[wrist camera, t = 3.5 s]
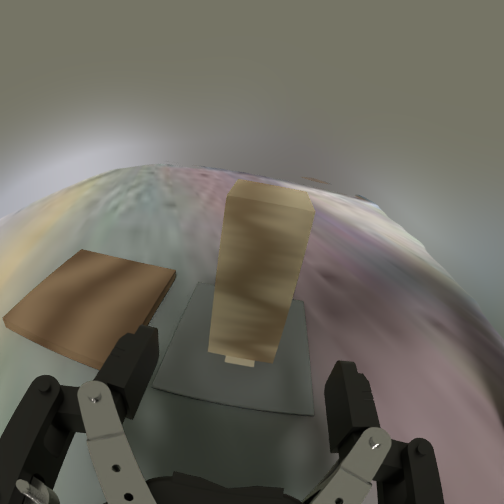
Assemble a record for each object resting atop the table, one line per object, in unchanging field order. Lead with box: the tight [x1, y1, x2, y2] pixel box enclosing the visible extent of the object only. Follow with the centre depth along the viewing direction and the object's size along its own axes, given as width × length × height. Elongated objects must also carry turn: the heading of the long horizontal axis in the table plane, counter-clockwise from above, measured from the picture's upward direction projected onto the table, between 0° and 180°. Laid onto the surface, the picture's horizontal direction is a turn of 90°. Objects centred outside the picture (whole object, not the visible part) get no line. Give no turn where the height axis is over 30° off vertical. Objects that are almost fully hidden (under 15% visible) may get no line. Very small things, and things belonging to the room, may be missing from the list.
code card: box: [152, 282, 314, 416], centre depth 23 cm, size 11×14×1 cm
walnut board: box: [3, 249, 176, 370], centre depth 23 cm, size 12×14×1 cm
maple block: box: [208, 179, 315, 363], centre depth 21 cm, size 5×5×12 cm
